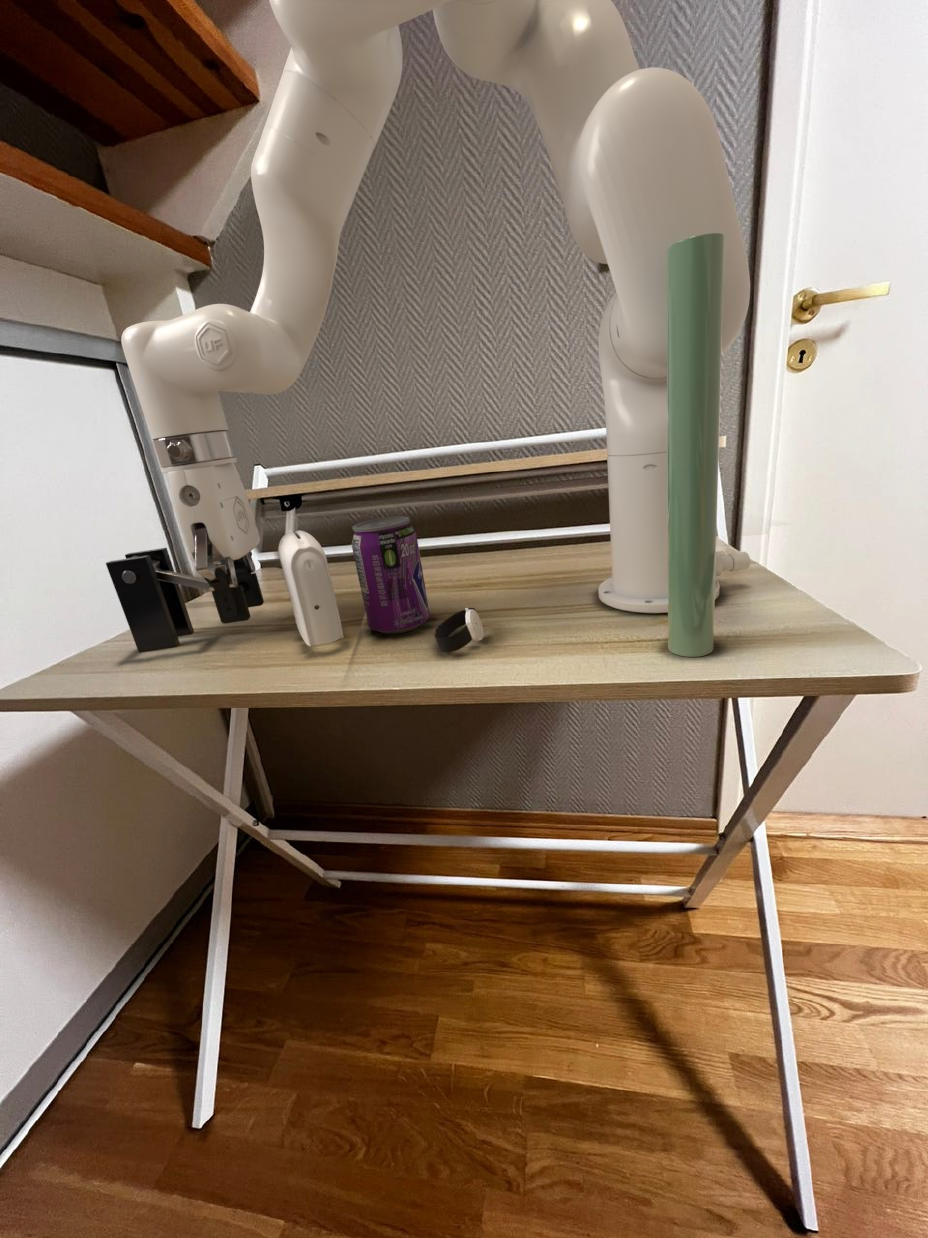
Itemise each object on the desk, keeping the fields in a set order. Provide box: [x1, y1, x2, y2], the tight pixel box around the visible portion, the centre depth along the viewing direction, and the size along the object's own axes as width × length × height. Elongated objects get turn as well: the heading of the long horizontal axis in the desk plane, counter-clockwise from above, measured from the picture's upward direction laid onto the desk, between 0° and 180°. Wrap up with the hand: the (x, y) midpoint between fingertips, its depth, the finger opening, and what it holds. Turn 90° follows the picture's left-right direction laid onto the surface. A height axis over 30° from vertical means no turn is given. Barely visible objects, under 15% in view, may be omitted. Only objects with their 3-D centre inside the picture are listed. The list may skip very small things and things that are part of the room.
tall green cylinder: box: [667, 233, 725, 658], centre depth 41 cm, size 4×4×30 cm
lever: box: [130, 555, 249, 593], centre depth 62 cm, size 13×4×2 cm, turn 94°
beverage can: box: [351, 515, 431, 635], centre depth 59 cm, size 7×7×12 cm
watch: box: [434, 607, 484, 654], centre depth 54 cm, size 8×5×4 cm, turn 167°
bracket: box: [105, 547, 195, 654], centre depth 62 cm, size 9×6×12 cm, turn 94°
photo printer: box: [277, 529, 345, 647], centre depth 59 cm, size 10×4×12 cm, turn 25°
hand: (243, 612), depth 63 cm, fingers closed on lever, 4 cm apart
